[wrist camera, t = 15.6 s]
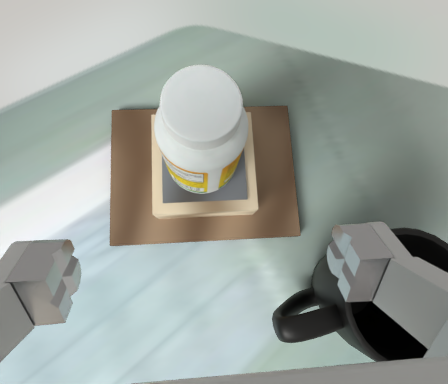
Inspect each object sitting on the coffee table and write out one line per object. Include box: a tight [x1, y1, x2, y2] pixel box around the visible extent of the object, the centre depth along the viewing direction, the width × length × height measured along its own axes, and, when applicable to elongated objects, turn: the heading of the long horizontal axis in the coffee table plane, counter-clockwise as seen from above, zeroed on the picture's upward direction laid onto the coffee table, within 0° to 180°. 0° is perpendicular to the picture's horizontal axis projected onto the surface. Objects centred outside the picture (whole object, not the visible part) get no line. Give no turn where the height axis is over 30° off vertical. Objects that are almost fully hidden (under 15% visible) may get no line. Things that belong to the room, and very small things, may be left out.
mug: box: [272, 228, 448, 362], centre depth 23 cm, size 8×12×10 cm
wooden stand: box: [110, 106, 301, 246], centre depth 26 cm, size 16×12×4 cm
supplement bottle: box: [154, 65, 248, 194], centre depth 20 cm, size 5×5×10 cm
